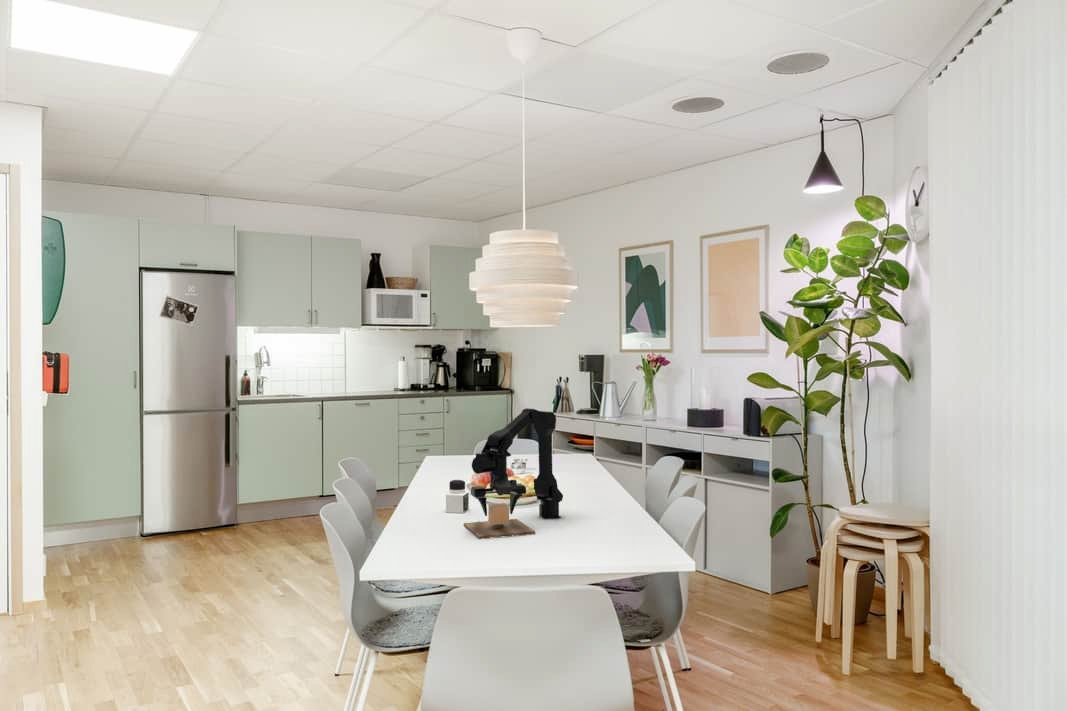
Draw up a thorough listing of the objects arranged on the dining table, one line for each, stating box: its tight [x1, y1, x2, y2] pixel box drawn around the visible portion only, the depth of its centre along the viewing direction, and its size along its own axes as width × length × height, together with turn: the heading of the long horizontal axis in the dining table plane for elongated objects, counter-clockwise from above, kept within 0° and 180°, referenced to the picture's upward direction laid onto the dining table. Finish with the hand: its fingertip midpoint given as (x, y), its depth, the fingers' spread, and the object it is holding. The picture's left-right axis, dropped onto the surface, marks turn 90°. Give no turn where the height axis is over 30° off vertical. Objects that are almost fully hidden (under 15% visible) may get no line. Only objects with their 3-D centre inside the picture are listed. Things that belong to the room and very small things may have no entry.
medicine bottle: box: [445, 479, 470, 514], centre depth 301 cm, size 7×7×12 cm
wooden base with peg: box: [463, 518, 536, 540], centre depth 270 cm, size 20×20×8 cm
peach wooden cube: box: [487, 502, 510, 525], centre depth 270 cm, size 6×6×6 cm
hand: (498, 514), depth 270 cm, fingers open, 9 cm apart
